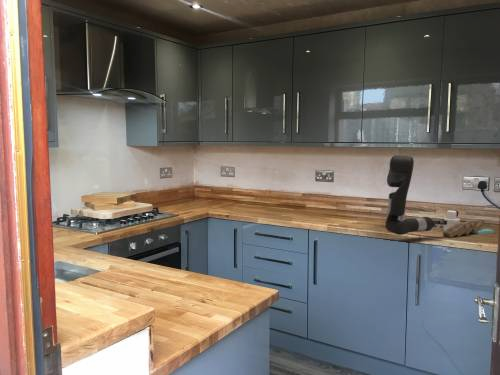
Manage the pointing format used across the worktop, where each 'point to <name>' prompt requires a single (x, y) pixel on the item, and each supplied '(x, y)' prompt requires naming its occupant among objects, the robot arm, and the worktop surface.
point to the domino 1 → (454, 230)
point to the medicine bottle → (451, 219)
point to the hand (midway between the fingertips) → (445, 222)
